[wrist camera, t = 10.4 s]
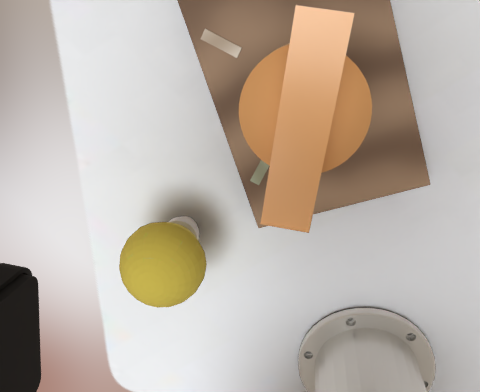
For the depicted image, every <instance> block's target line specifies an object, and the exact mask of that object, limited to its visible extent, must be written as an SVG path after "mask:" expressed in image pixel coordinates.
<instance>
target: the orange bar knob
mask: <svg viewBox="0 0 480 392" xmlns="http://www.w3.org/2000/svg"><path fill="white" fill-rule="evenodd" d="M353 18H354V13H350V12H343V11H335V10H328V9H321V8H313V7H306V6H299V5H296V6H295V13H294V19H293V25H292V31H291V37H290V43H289V44H286V45H283V46H282V47H280V48H278V49H276V50H275V51H273V52H272V53H270V54H269V55H268V56H266V57H265V58H264V59H263V60H262V61H260V62H259V63H258V64H257V66H256V67H255V68H254V69H253V70H252V72H251V73H250V75H249V76H248V78H247V80H246V82H245V84H244V86H243V89H242V92H241V96H240V101H239V121H240V126H241V129H242V132H243V135H244V137H245V140H246V142H247V143H248V145H249V146H250V148H251V149H252V151H253V152H254V153H255V154H256V155H257V156H258V157H259V158H260V159H261V160H262V161H263V162H265V163H266V164H268V165H269V166H270V167H269V174H268V180H267V186H266V192H265V198H264V205H263V211H262V217H261V223H260V224H263V225H268V226H274V227H279V228H285V229H290V230H296V231H302V232H307V233H309V230H310V225H311V220H312V215H313V211H314V206H315V201H316V196H317V191H318V187H319V182H320V177H321V173H323V172H326V171H329V170H331V169H333V168H335V167H337V166H339V165H341V164H342V163H343V162H345V161H346V160H347V159H349V158H350V157H351V156H352V155H353V154H354V153H355V152H356V150H357V149H358V148H359V147H360V145H361V143H362V142H363V140H364V138H365V136H366V134H367V132H368V129H369V126H370V122H371V116H372V99H371V93H370V89H369V86H368V84H367V81H366V79H365V77H364V75H363V74H362V72H361V71H360V69H359V68H358V67H357V65H356V64H355V63H354V62H353V61H352V60H351V59H350V58H349V57H347V56H346V52H347V47H348V42H349V38H350V33H351V28H352V23H353Z"/></svg>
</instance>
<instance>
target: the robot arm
mask: <svg viewBox="0 0 480 392" xmlns="http://www.w3.org/2000/svg"><path fill="white" fill-rule="evenodd" d="M298 366H299V374H300V377H301V380H302V383H303V385H304V387H305V388H306V390H307V391H308V392H428V391H429V390H430V388H431V386H432V383H433V381H434V377H435V370H436V366H435V358H434V355H433V352H432V349H431V346H430V345H429V343H428V341H427V339H426V337H425V336H424V334H423V333H422V332H421V331H420V330H419V329H418V328H417V327H416V326H415V325H414V324H412V323H411V322H410V321H409V320H407V319H405V318H403V317H401V316H399V315H398V314H395V313H392V312H389V311H386V310H381V309H375V308H354V309H347V310H343V311H340V312H337V313H334V314H331V315H329V316H328V317H326V318H324V319H322V320H321V321H319V322H318V323H317V324H316V325H314V326H313V327H312V328H311V330H310V331H309V332H308V333H307V334H306V336H305V338H304V340H303V342H302V344H301V347H300V351H299V362H298ZM40 380H41V362H40V329H39V297H38V281H37V278H36V277H34V276H32V273H31V271H30V270H29V269H28V268H25V267H20V266H15V265H10V264H5V263H0V392H36V391H37V389H38V387H39V383H40Z"/></svg>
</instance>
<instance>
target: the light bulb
mask: <svg viewBox="0 0 480 392" xmlns="http://www.w3.org/2000/svg"><path fill="white" fill-rule="evenodd" d="M199 236H200V234H199V229H198V226H197V224H196V222H195V221H194V220H193V219H192V218H190V217H188V216H180V217H175V218H173V219H171V220H170V221H169V222H157V223H150V224H147V225H145V226H142V227H140V228H139V229H138V230H137V231H136V232H134V233H133V234H132V235H131V236H130V237H129V238H128V240H127V241H126V243H125V245H124V247H123V249H122V252H121V255H120V266H119V270H120V274H121V278H122V281H123V283H124V285H125V287H126V288H127V290H128V292H129V293H130V294H132V295H133V296H134V297H135V298H136V299H137V300H139V301H141V302H143V303H144V304H146V305H150V306H154V307H171V306H174V305H177V304H180V303H182V302H184V301H185V300H187V299H188V298H189V297H190V296H192V295H193V294H194V293H195V292H196V291H197V289H198V287H199V286H200V284H201V282H202V281H203V279H204V275H205V270H206V258H205V253H204V250H203V249H202V247H201V245H200V243H199V241H198V240H199Z"/></svg>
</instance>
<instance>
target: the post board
mask: <svg viewBox="0 0 480 392" xmlns="http://www.w3.org/2000/svg"><path fill="white" fill-rule="evenodd" d="M178 3H179V6H180V9H181V12H182V14H183V17H184V20H185V23H186V26H187V28H188V31H189V34H190V37H191V40H192V42H193V45H194V48H195V51H196V54H197V57H198V59H199V62H200V65H201V68H202V71H203V73H204V76H205V79H206V82H207V85H208V87H209V90H210V93H211V96H212V99H213V102H214V104H215V107H216V110H217V113H218V116H219V118H220V121H221V124H222V127H223V130H224V132H225V135H226V138H227V141H228V144H229V147H230V149H231V152H232V155H233V158H234V161H235V163H236V166H237V169H238V172H239V175H240V177H241V180H242V183H243V186H244V189H245V192H246V194H247V197H248V200H249V203H250V206H251V208H252V211H253V214H254V217H255V220H256V223H257V225H258V228H261V227H265V226H268V225H263V224H260V223H261V217H262V211H263V205H264V198H265V192H266V186H267V180H268V174H269V167H270V166H269V165H268V164H266V163H265V162H263V161H262V160H261V159H260V158H259V157H258V156H257V155H256V154H255V153H254V152H253V151H252V149H251V148H250V146H249V145H248V143H247V142H246V140H245V137H244V135H243V132H242V129H241V126H240V121H239V101H240V96H241V92H242V89H243V86H244V84H245V82H246V80H247V78H248V76H249V75H250V73H251V72H252V70H253V69H254V68H255V67H256V66H257V64H258V63H259V62H260V61H262V60H263V59H264V58H265V57H266V56H268V55H269V54H270V53H272V52H273V51H275V50H276V49H278V48H280V47H282V46H283V45H286V44H289V43H290V37H291V31H292V25H293V19H294V13H295V6H296V5H299V6H306V7H313V8H321V9H328V10H335V11H343V12H350V13H354V18H353V23H352V28H351V33H350V38H349V42H348V47H347V52H346V56H347V57H349V58H350V59H351V60H352V61H353V62H354V63H355V64H356V65H357V67H358V68H359V69H360V71H361V72H362V74H363V75H364V77H365V79H366V81H367V84H368V86H369V89H370V93H371V99H372V116H371V122H370V126H369V129H368V132H367V134H366V136H365V138H364V140H363V142H362V143H361V145H360V147H359V148H358V149H357V150H356V152H355V153H354V154H353V155H352V156H351V157H350V158H349V159H347V160H346V161H345V162H343V163H342V164H341V165H339V166H337V167H335V168H333V169H331V170H329V171H326V172H323V173H321V177H320V182H319V187H318V191H317V196H316V201H315V206H314V211H313V214H316V213H320V212H324V211H328V210H332V209H336V208H340V207H344V206H348V205H352V204H356V203H360V202H364V201H368V200H372V199H375V198H379V197H383V196H387V195H391V194H395V193H399V192H403V191H407V190H411V189H415V188H419V187H423V186H427V185H430V180H429V176H428V171H427V167H426V162H425V158H424V153H423V149H422V144H421V139H420V135H419V130H418V126H417V121H416V117H415V112H414V108H413V103H412V99H411V94H410V90H409V85H408V80H407V76H406V71H405V67H404V62H403V58H402V53H401V49H400V44H399V40H398V35H397V30H396V26H395V21H394V17H393V12H392V8H391V3H390V0H178Z"/></svg>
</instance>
